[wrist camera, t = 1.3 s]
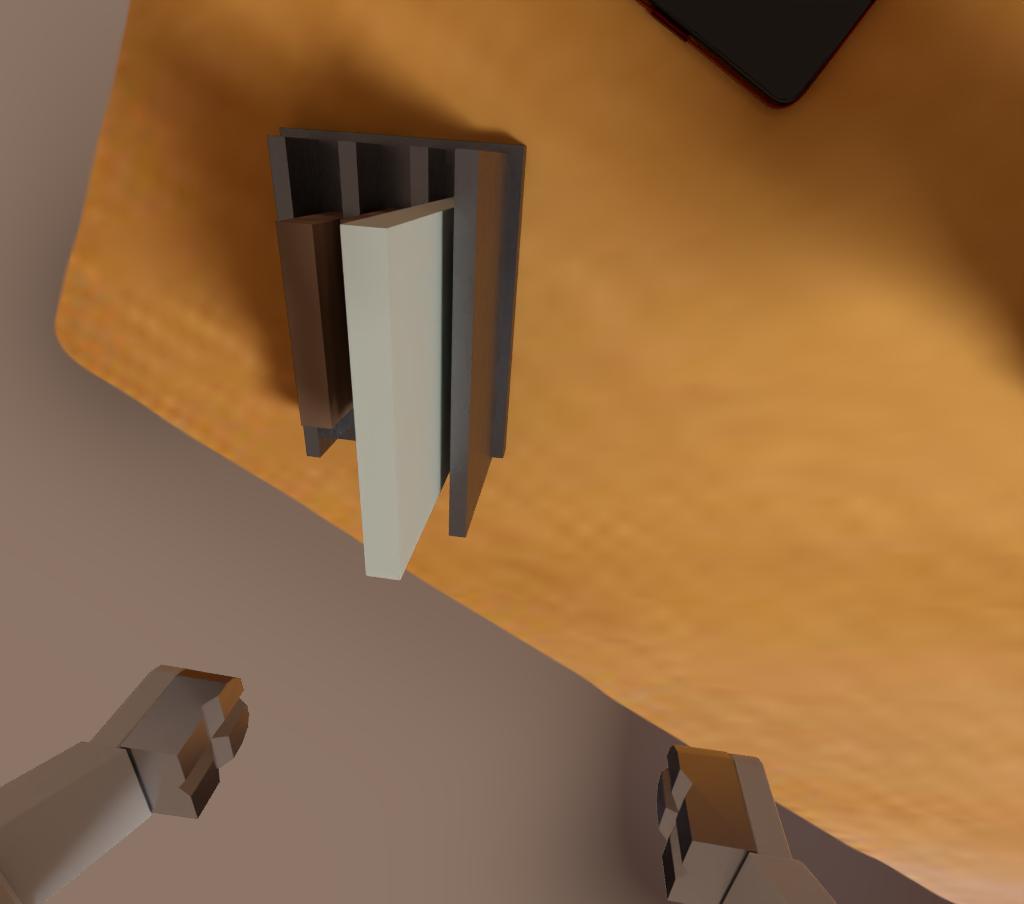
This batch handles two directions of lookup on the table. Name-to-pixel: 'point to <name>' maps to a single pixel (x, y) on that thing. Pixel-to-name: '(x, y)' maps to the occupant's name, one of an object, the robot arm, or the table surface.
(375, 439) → the white thin panel
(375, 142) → the rack
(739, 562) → the table surface
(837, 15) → the smartphone
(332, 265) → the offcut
